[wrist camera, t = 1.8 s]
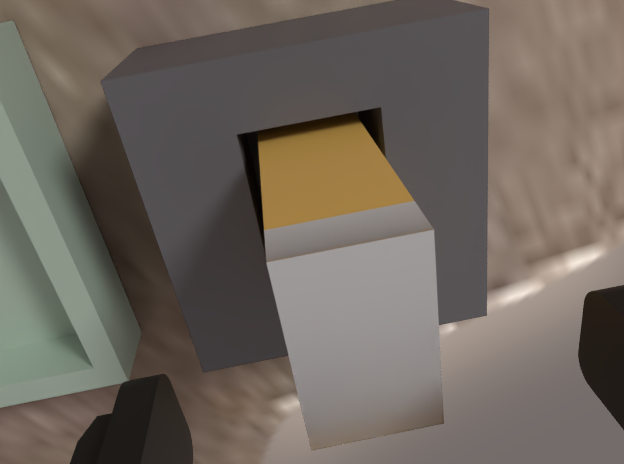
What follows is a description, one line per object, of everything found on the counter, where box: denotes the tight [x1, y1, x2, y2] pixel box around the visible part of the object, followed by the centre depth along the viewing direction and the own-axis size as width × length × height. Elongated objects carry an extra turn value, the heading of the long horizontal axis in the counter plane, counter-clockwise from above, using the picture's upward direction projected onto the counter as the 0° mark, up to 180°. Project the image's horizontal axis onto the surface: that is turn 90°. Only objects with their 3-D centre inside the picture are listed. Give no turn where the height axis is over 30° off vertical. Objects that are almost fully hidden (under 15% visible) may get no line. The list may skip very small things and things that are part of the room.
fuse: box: [257, 112, 444, 450], centre depth 15 cm, size 3×5×10 cm, turn 9°
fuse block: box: [101, 0, 489, 372], centre depth 18 cm, size 10×10×5 cm
